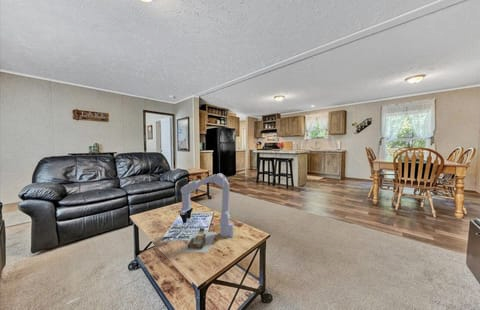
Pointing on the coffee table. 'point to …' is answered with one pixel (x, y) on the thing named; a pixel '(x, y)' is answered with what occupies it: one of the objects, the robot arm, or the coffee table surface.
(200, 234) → the cart
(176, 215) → the coffee table surface
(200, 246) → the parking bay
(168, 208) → the coffee table surface
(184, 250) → the dock board
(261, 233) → the coffee table surface
